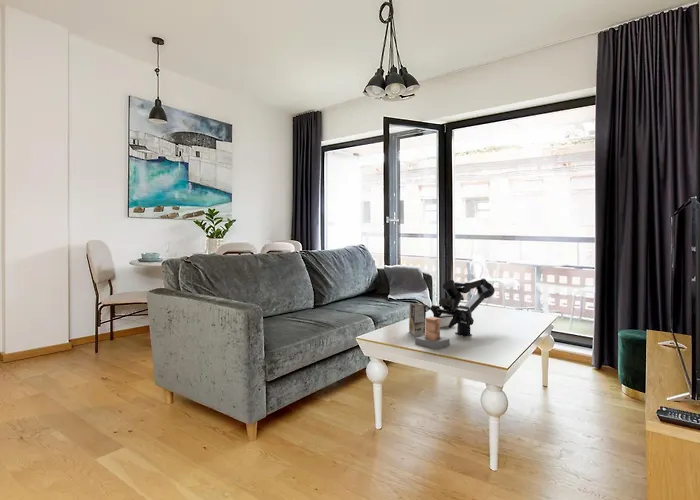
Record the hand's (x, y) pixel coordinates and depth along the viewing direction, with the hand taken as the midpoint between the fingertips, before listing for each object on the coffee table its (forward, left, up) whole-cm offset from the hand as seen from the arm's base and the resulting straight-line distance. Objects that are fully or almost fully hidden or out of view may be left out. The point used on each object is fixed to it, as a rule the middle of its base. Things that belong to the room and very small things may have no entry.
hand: (440, 326), depth 201 cm
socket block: (+2, -7, -8) cm, 11 cm away
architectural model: (-25, +25, -9) cm, 36 cm away
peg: (+2, -7, -8) cm, 11 cm away
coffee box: (-17, -2, -8) cm, 19 cm away
